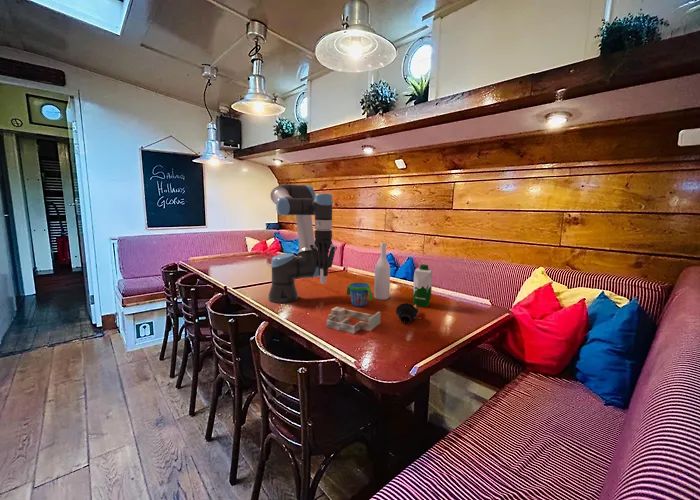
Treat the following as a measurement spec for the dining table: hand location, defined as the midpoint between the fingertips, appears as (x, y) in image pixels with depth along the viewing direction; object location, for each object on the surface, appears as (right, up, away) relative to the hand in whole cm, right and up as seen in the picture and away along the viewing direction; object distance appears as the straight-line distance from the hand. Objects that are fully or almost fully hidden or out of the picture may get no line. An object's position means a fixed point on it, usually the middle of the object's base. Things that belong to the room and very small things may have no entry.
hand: (323, 282), depth 137 cm
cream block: (+7, -16, -1) cm, 17 cm away
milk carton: (+48, -13, +20) cm, 54 cm away
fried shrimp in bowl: (+38, -16, 0) cm, 42 cm away
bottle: (+29, -11, +30) cm, 44 cm away
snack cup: (+16, -13, +18) cm, 28 cm away
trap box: (+12, -17, -8) cm, 22 cm away
